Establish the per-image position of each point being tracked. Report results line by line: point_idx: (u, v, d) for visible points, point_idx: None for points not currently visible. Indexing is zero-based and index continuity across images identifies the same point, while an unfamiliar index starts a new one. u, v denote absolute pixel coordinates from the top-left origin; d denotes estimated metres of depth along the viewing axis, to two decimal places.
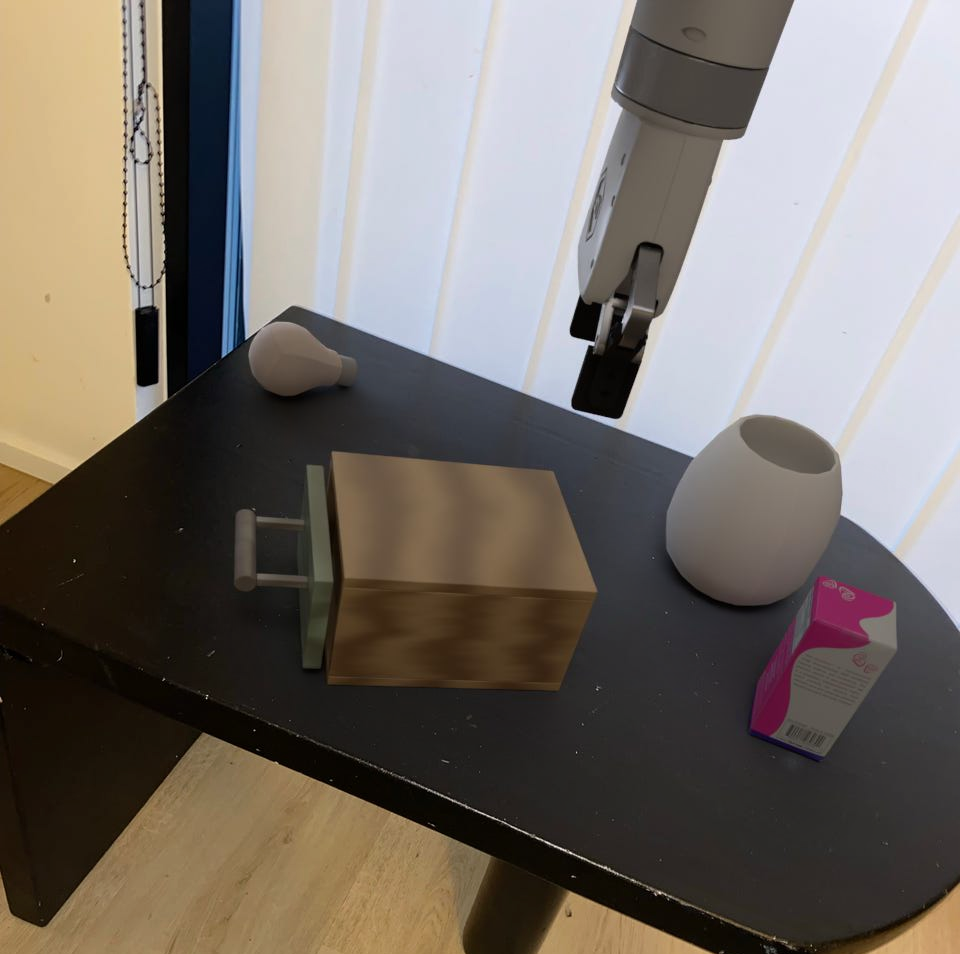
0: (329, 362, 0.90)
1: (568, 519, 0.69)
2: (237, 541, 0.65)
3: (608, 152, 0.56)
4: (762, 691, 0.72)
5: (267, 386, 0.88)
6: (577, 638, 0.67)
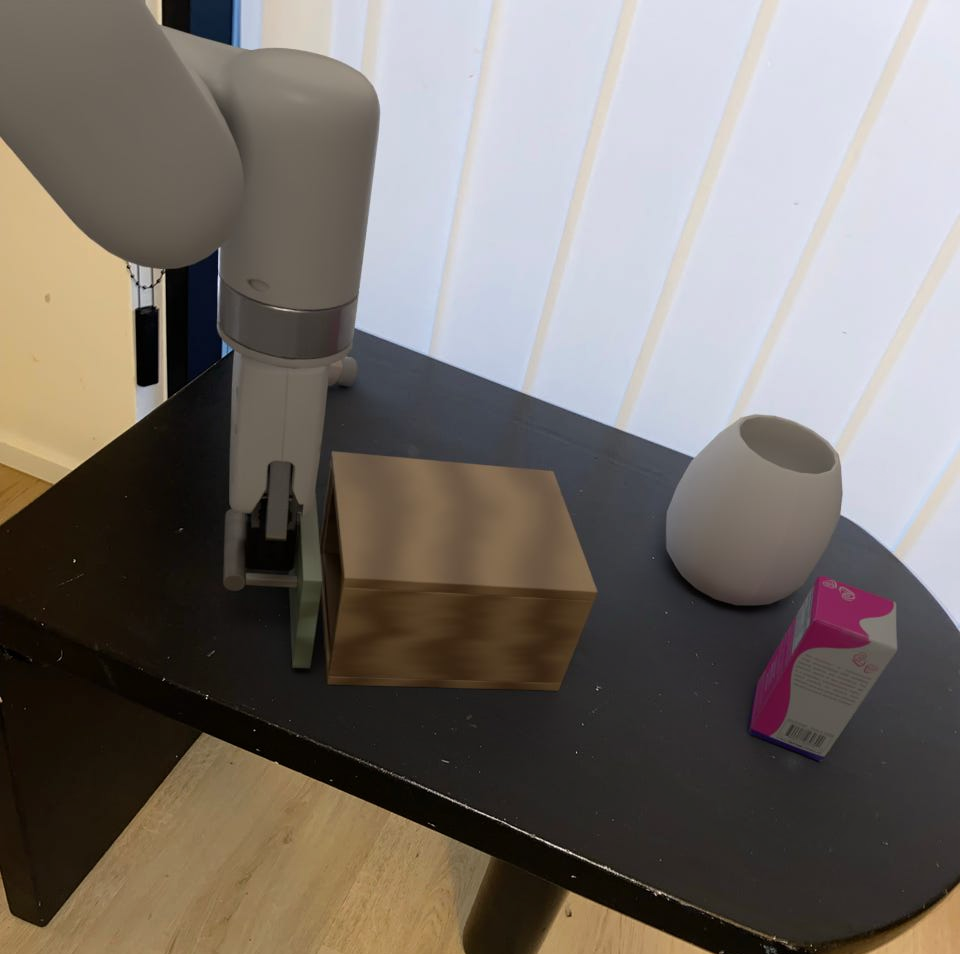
0: None
1: (568, 519, 0.69)
2: (226, 540, 0.65)
3: None
4: (762, 691, 0.72)
5: None
6: (577, 638, 0.67)
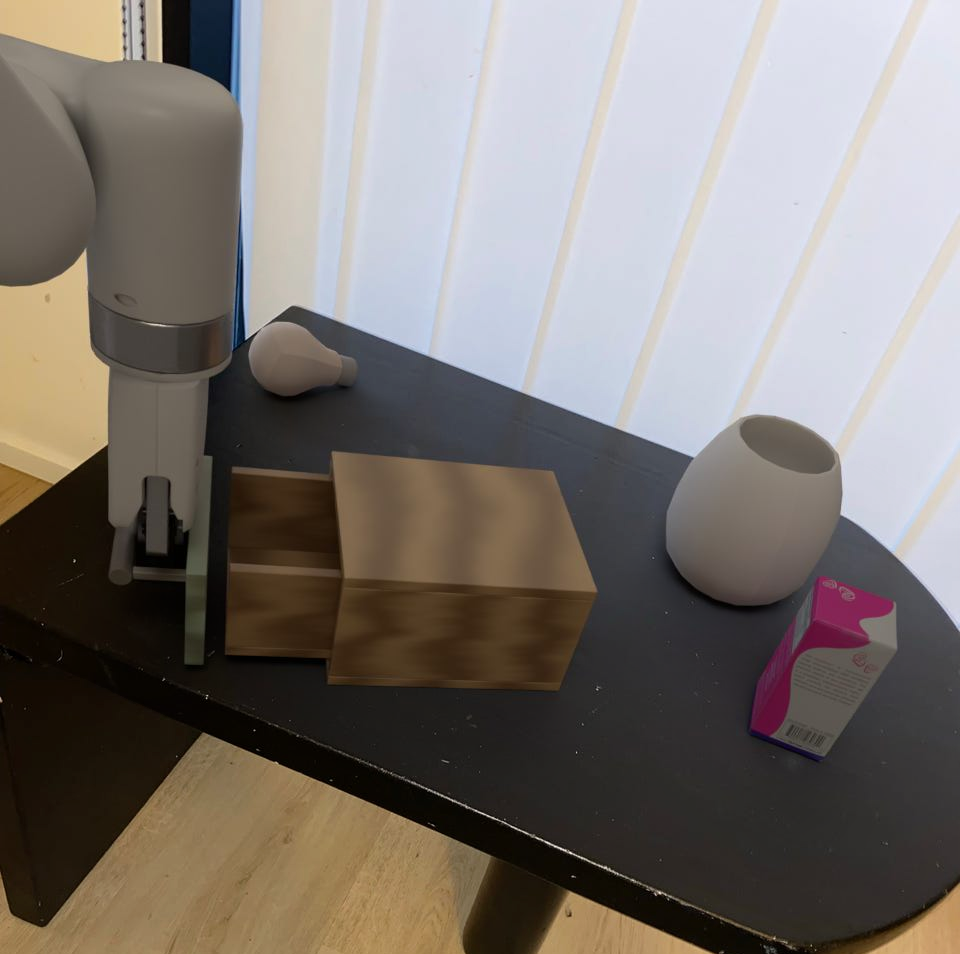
0: (329, 362, 0.90)
1: (568, 519, 0.69)
2: (116, 533, 0.63)
3: None
4: (762, 691, 0.72)
5: (267, 386, 0.88)
6: (577, 638, 0.67)
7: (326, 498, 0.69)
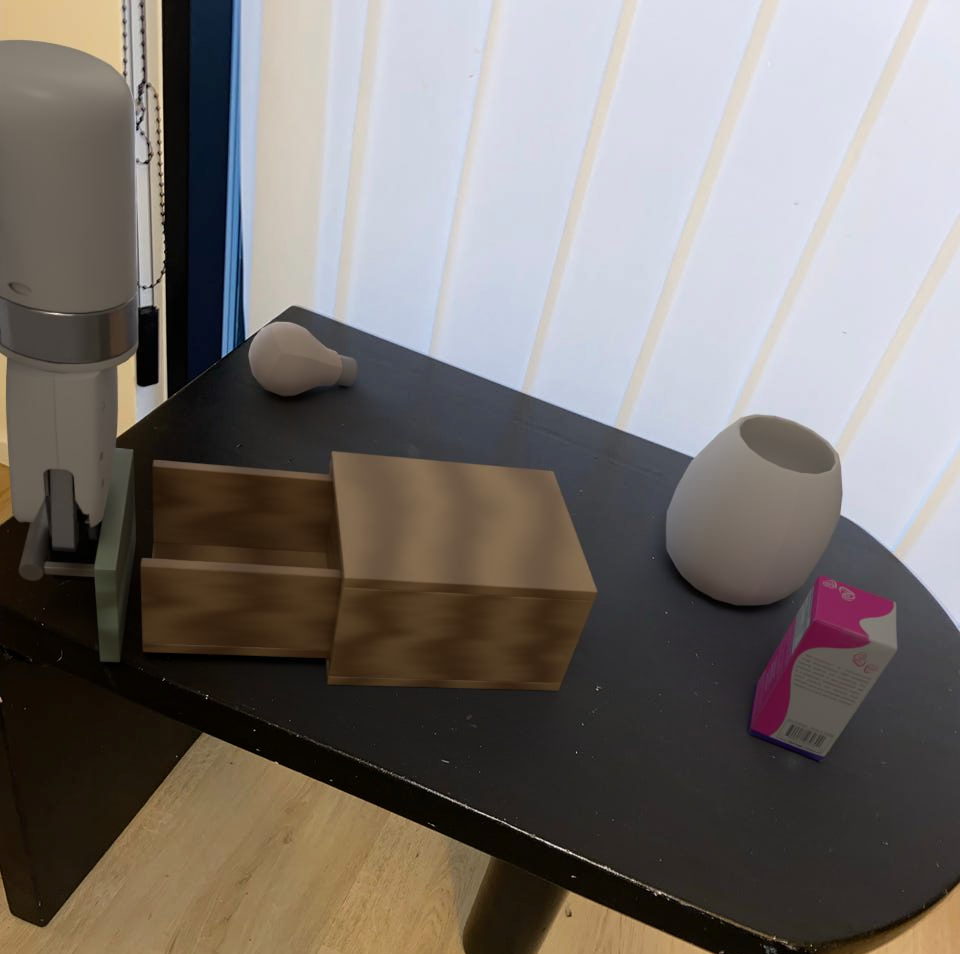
0: (329, 362, 0.90)
1: (568, 519, 0.69)
2: (30, 528, 0.62)
3: None
4: (762, 691, 0.72)
5: (267, 386, 0.88)
6: (577, 638, 0.67)
7: (252, 492, 0.68)
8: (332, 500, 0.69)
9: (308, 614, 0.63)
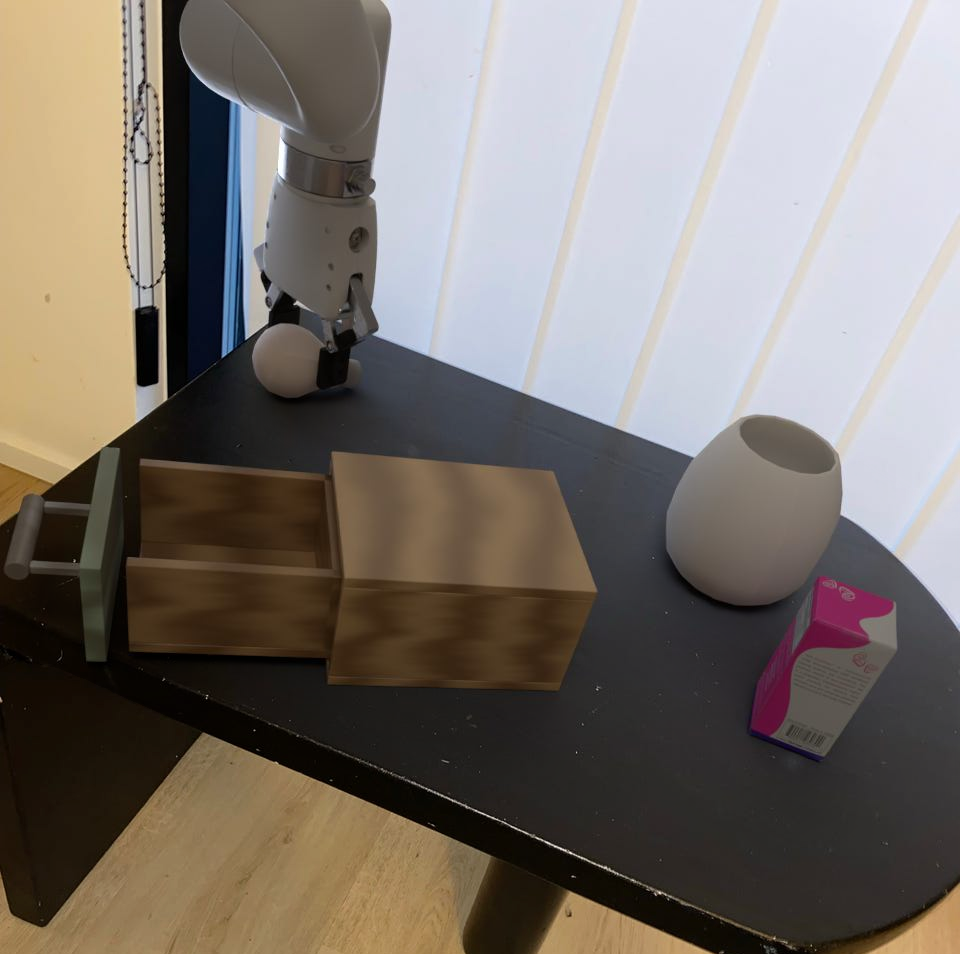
0: None
1: (568, 519, 0.69)
2: (16, 527, 0.61)
3: None
4: (762, 691, 0.72)
5: (270, 388, 0.88)
6: (577, 638, 0.67)
7: (240, 491, 0.68)
8: (320, 499, 0.69)
9: (295, 613, 0.63)
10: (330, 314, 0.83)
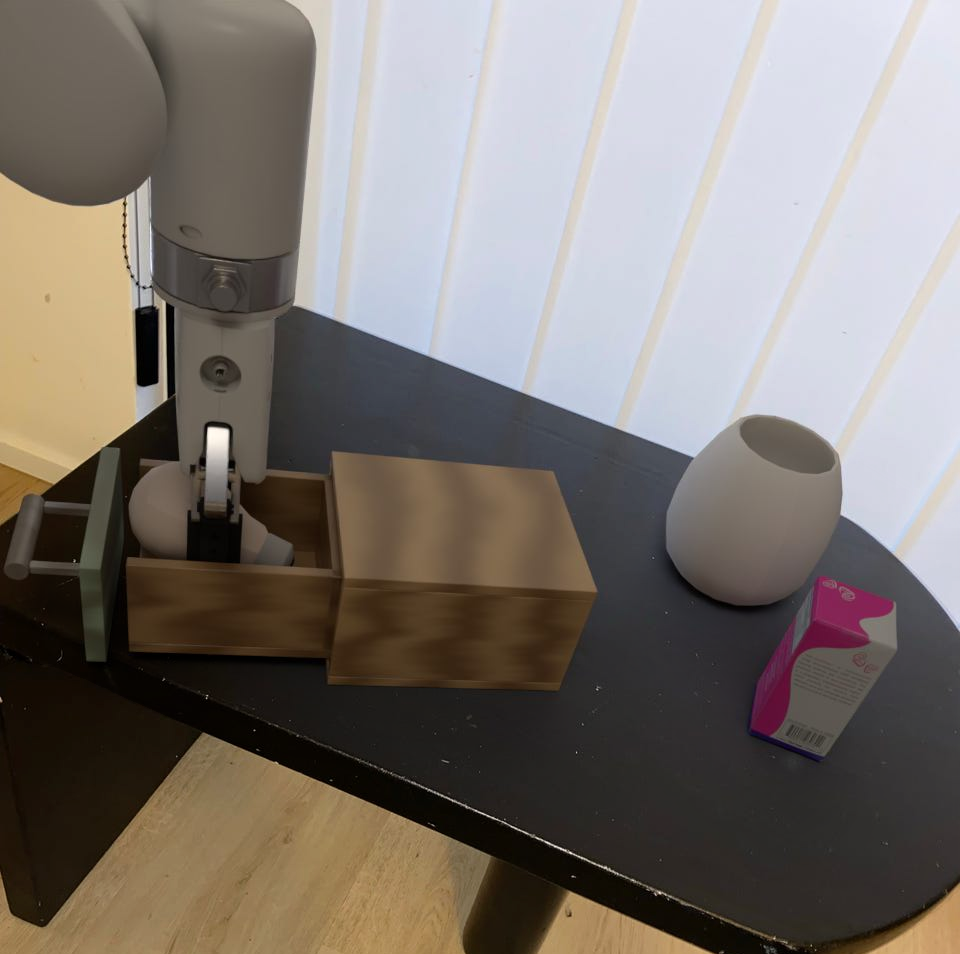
0: None
1: (568, 519, 0.69)
2: (16, 527, 0.61)
3: None
4: (762, 691, 0.72)
5: None
6: (577, 638, 0.67)
7: None
8: (320, 499, 0.69)
9: (295, 613, 0.63)
10: (181, 467, 0.55)
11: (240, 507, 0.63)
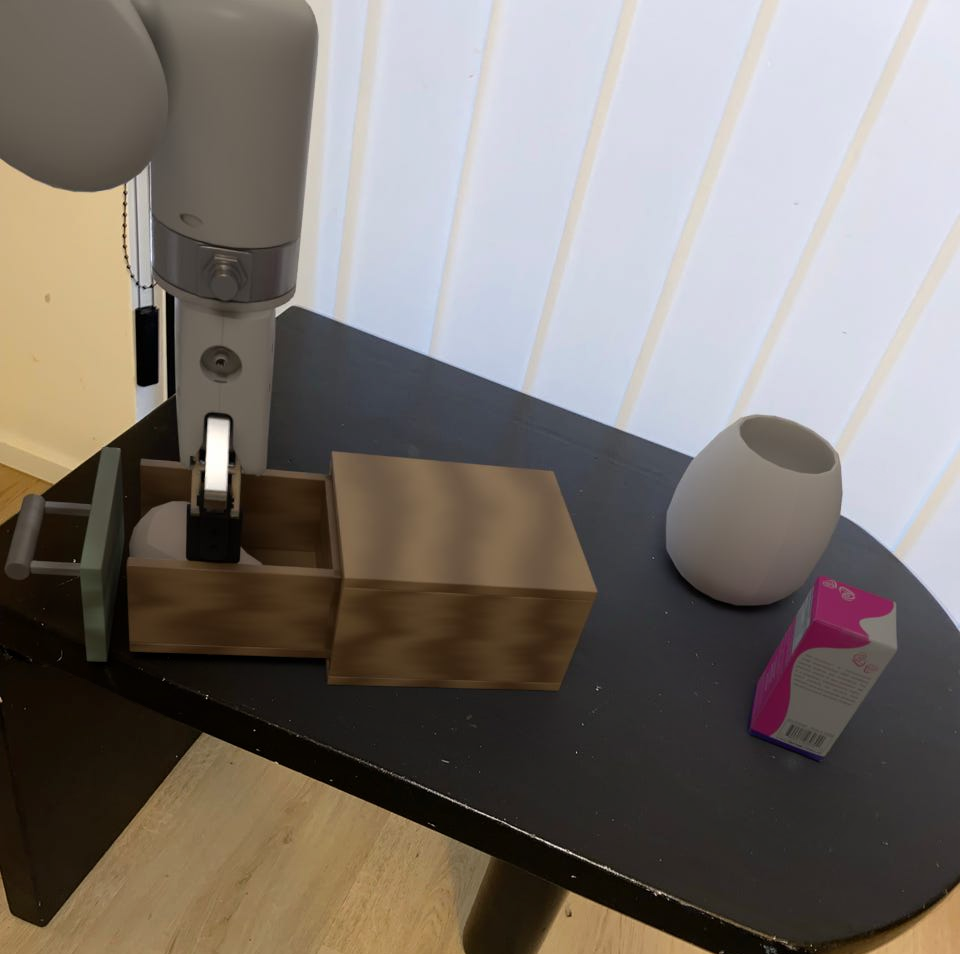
0: None
1: (568, 519, 0.69)
2: (16, 527, 0.61)
3: None
4: (762, 691, 0.72)
5: None
6: (577, 638, 0.67)
7: (240, 491, 0.68)
8: (321, 499, 0.69)
9: (296, 613, 0.63)
10: (181, 459, 0.55)
11: None
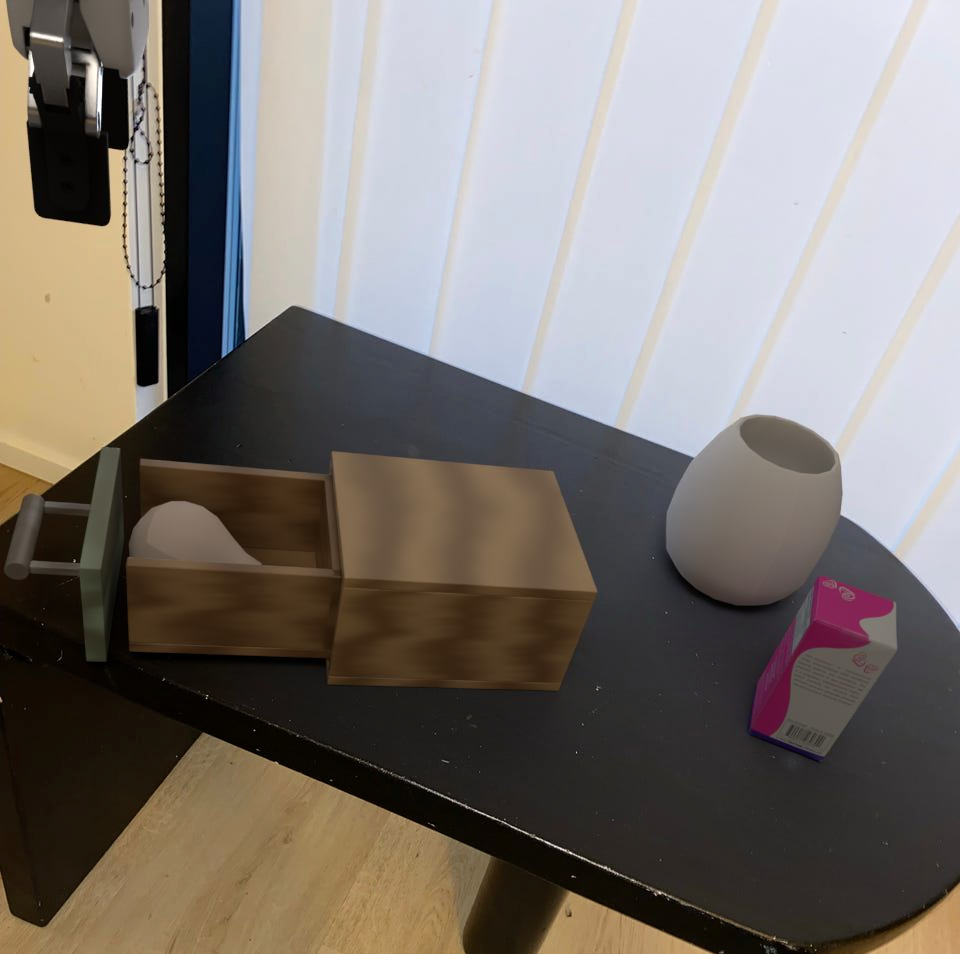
0: None
1: (568, 519, 0.69)
2: (16, 527, 0.61)
3: None
4: (762, 691, 0.72)
5: None
6: (577, 638, 0.67)
7: (240, 491, 0.68)
8: (320, 499, 0.69)
9: (295, 613, 0.63)
10: (13, 37, 0.40)
11: (237, 545, 0.65)
